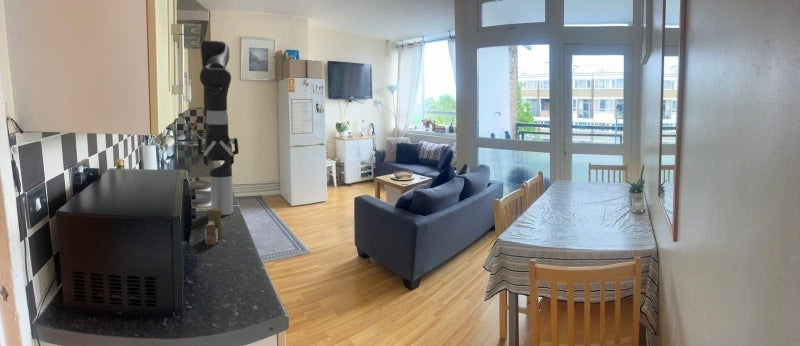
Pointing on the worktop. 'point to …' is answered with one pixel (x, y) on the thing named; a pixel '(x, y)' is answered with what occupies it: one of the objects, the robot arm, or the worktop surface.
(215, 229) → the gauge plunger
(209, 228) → the beige upright block
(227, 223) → the worktop surface
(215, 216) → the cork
